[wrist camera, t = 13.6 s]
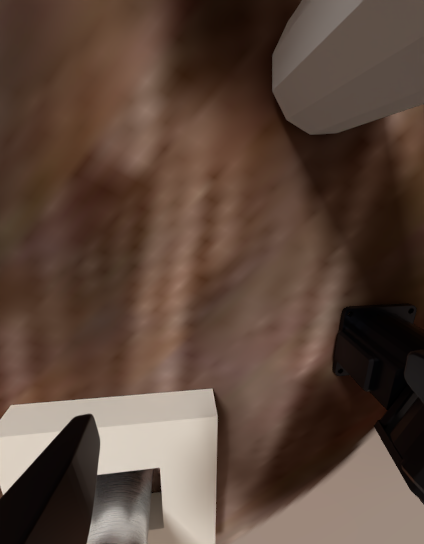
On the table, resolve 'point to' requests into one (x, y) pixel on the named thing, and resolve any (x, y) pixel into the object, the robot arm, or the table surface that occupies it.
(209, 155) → the table surface
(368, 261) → the table surface
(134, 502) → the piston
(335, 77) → the water bottle
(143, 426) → the square hole plate
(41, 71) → the table surface
